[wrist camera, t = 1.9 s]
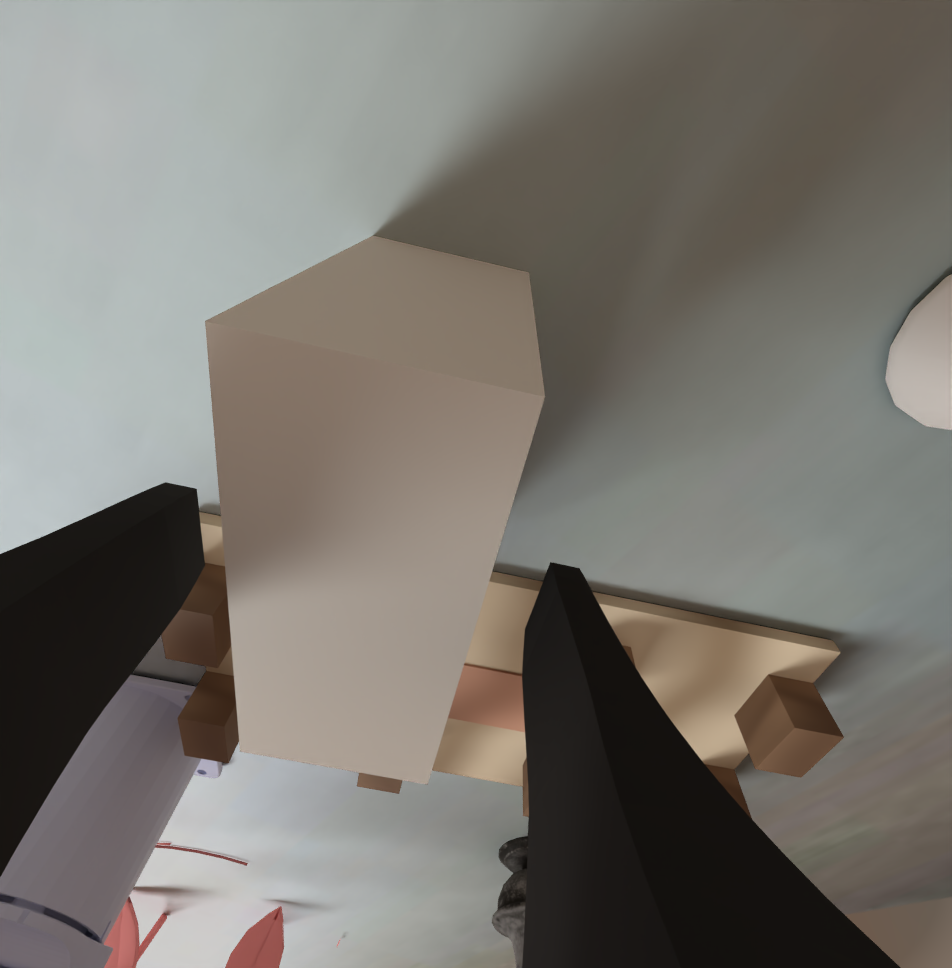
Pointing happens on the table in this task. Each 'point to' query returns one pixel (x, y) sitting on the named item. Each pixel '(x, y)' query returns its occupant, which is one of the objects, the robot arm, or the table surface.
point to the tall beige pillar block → (367, 493)
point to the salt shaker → (513, 896)
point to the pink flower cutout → (248, 962)
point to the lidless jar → (925, 360)
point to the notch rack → (499, 693)
